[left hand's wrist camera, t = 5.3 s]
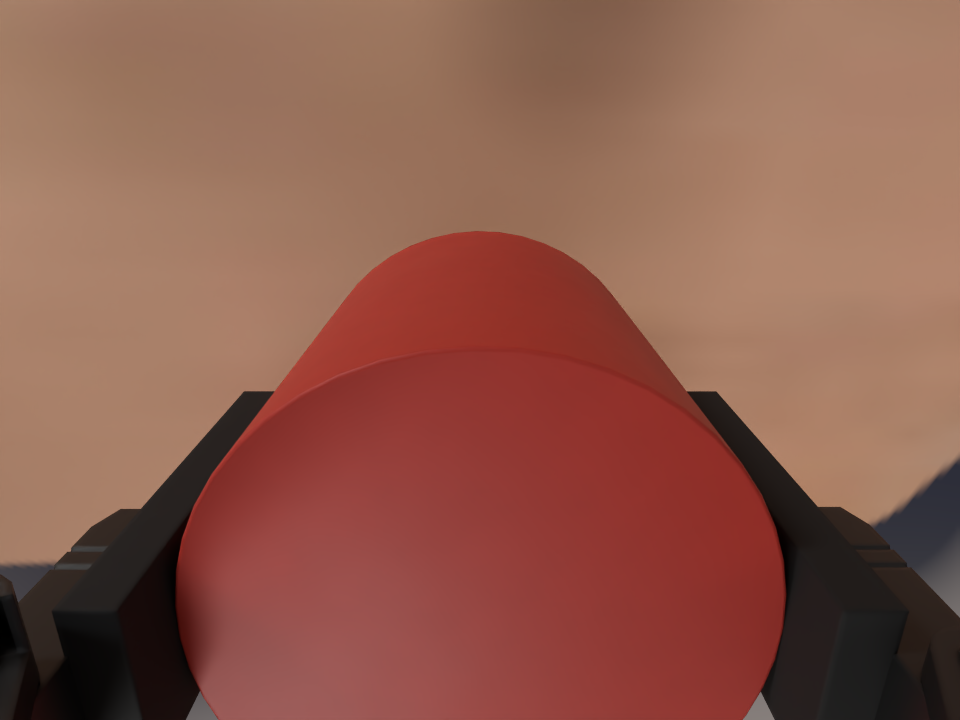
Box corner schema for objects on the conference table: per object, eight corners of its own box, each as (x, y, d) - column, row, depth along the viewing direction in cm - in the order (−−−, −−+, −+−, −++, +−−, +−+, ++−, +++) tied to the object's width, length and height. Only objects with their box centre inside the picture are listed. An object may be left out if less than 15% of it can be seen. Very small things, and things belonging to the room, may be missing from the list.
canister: (561, 563, 19) (622, 892, 11) (283, 471, 18) (120, 759, 10) (697, 303, 16) (913, 482, 8) (378, 177, 15) (262, 238, 7)
